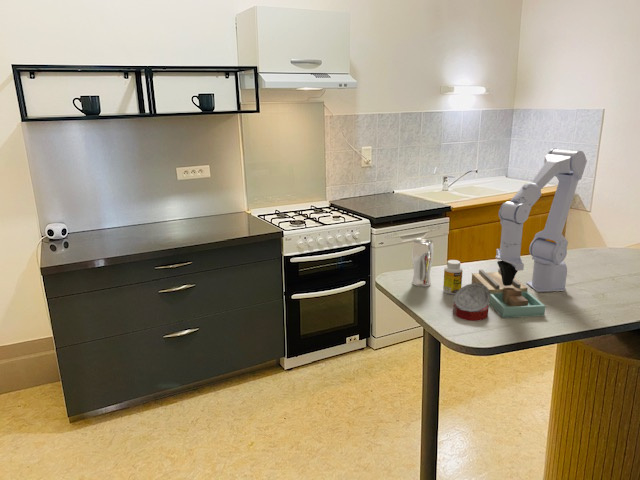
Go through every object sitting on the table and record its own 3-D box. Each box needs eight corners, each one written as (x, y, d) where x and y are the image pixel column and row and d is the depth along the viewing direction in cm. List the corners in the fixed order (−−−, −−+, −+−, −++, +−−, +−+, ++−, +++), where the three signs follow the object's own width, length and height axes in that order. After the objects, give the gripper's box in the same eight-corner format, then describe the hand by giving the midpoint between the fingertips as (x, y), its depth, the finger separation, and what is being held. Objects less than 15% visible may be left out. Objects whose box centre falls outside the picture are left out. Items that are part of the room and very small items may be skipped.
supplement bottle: (452, 296, 153) (454, 265, 150) (439, 291, 158) (441, 261, 155) (464, 292, 156) (466, 262, 153) (451, 287, 161) (453, 257, 158)
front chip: (528, 300, 140) (527, 310, 141) (521, 295, 143) (520, 304, 144) (514, 301, 139) (513, 311, 140) (508, 296, 143) (507, 305, 144)
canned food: (487, 330, 141) (502, 308, 135) (456, 331, 139) (469, 309, 132) (473, 299, 149) (486, 278, 143) (443, 300, 147) (454, 278, 140)
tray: (526, 300, 149) (527, 291, 148) (544, 315, 139) (545, 305, 138) (488, 302, 148) (488, 293, 148) (503, 317, 138) (503, 308, 137)
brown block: (520, 304, 144) (515, 300, 147) (521, 291, 144) (516, 288, 147) (507, 303, 144) (502, 300, 147) (508, 291, 143) (504, 287, 146)
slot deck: (506, 283, 163) (508, 268, 161) (526, 300, 149) (528, 284, 148) (471, 284, 162) (472, 270, 161) (487, 301, 149) (489, 286, 147)
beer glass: (423, 289, 159) (425, 245, 155) (406, 283, 164) (407, 241, 160) (436, 283, 164) (438, 240, 159) (419, 278, 169) (421, 236, 164)
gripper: (488, 235, 151) (485, 276, 155) (508, 250, 137) (504, 294, 141) (510, 234, 152) (506, 275, 156) (532, 249, 138) (527, 293, 142)
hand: (507, 284), depth 148 cm, fingers closed
